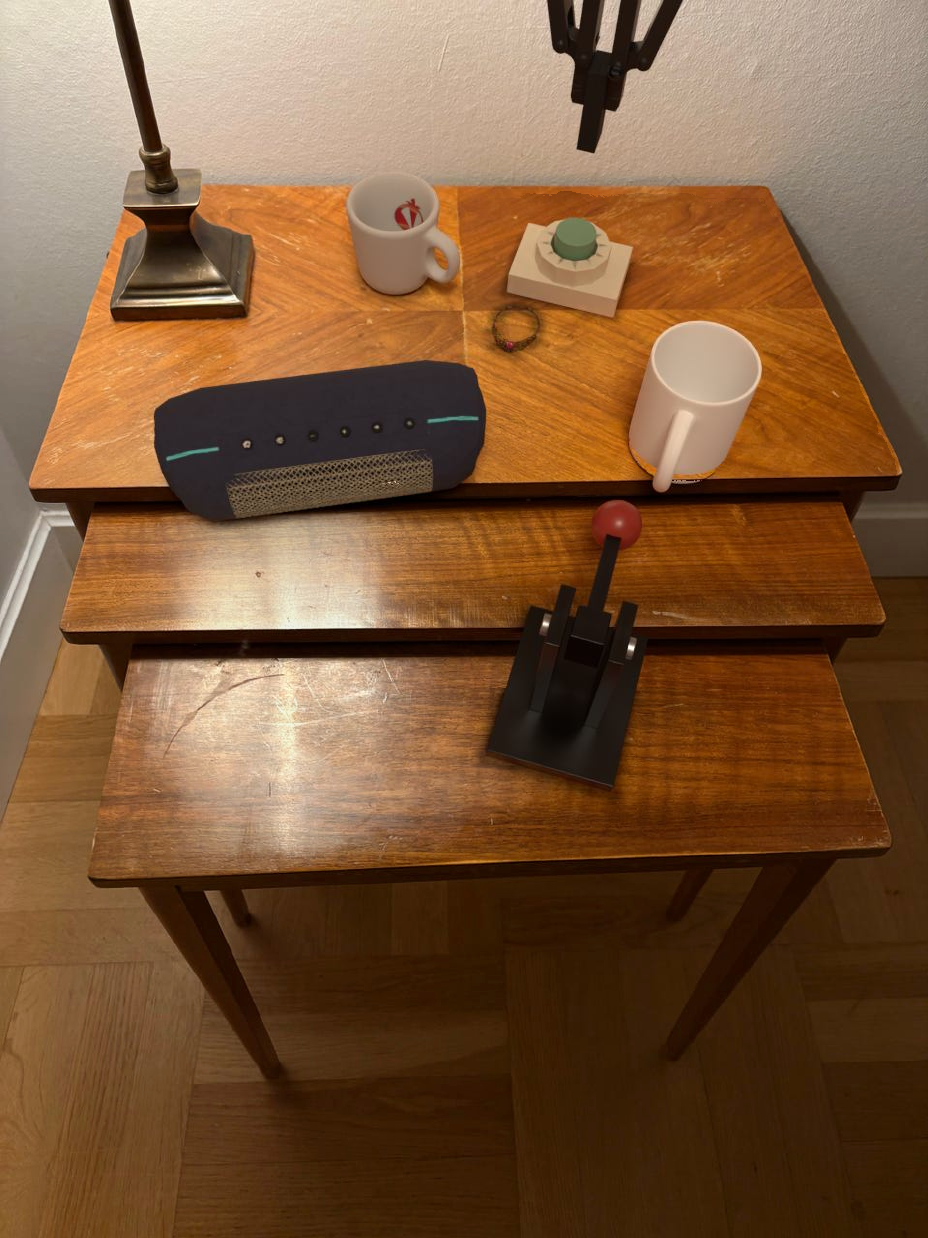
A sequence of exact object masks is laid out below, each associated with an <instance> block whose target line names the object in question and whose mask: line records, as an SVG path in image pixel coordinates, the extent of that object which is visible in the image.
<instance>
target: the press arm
mask: <svg viewBox="0 0 928 1238" xmlns="http://www.w3.org/2000/svg"><path fill="white" fill-rule="evenodd" d="M590 529H591V534H592V536H593V539H594V540H595V542H596V543H597V544H598V545H599V546H601V547H602V548H601V552H600V555H599V559H598V564H597V566H596V571H595V575H594V578H593V581H592V585H591V589H590V593H589V597H588V601H587V605H582V604H578V605H577V609H576V611H575V616H574V617H575V619H574V623H573V626H572V630H571V634H570V637H569V641H568V644H567V648H566V652H565V655H564V660H568V661H571V662H575V663H578V664H582V665H586V666H589V667H593V668H597V667H598V664H599V661H600V658H601V655H602V652H603V649H604V646H605V642H606V638H607V634H608V629H609V627H610V624H611V621H612V617H613V613H611V612H608V611H605V606H606V602H607V600H608V595H609V591H610V587H611V583H612V579H613V575H614V571H615V566H616V562H617V560H618V555H619V552H620V551H621V552H622V551H624V550H627V549H630V548H631V547H633V546H634V545H635V544H636V543H637V542H638V540H639V539H640V537H641V535H642V532H643V518H642V515H641V514H640V512H639V510H638V509H637V507H636V506H635V505H634V504H632V503H630V502H628V501H626V500H623V499H612V500H609V501H606V502H604V503H603V504H601V505H600V506H598V508H597V509H596V510H595V511H594V513H593V515H592V518H591V522H590Z"/></svg>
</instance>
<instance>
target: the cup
mask: <svg viewBox="0 0 928 1238" xmlns="http://www.w3.org/2000/svg"><path fill="white" fill-rule="evenodd" d="M440 206H441V205H440V199H439V196H438V194H437V192H436V190H435V189H434V187H432V185H431V184H430V183H429V182H427V181H426V180H424V179H422V178H421V177H419V176H416V175H414V174H411V173H408V172H404V171H403V172H402V171H382V172H377V173H374V174H370V175H368V176H366V177H364V178H363V179H360V180H359V181H358V182H357V183H356V184H354V185H353V187H352V188H351V189H350V191H349V192H348V195H347V197H346V200H345V210H346V211H345V212H346V216H347V221H348V226H349V229H350V234H351V240H352V244H353V248H354V254H355V258H356V263H357V265H358V266H357V267H358V270H359V272H360V275H361V277H362V279H363V280H364V282H365V283H366V284H367V285H368V286H369V287H370V288H372V289H373V290H375V291H377V292H378V293H382V294H385V295H390V296H391V295H393V296H398V295H399V296H401V295H407V294H410V293H412V292H414V291H416V290H418V289H419V288H420V287H422V286H423V285H424V284H425V283H426V281H427V280H428V278H429V279H431V280H433V281H435V282H437V283H440V284H448V283H451V281H453V280H454V279H455V278H456V276H457V275H458V273H459V271H460V266H461V254H460V250H459V247H458V246H457V244H456V243H455V241H454V240H453V239H452V238H451V237H450V236H448V235H447V234H446V233H445V232H443V231H442V230H439V229H438V225H439V217H440V210H441V209H440V208H441V207H440ZM436 249H437V250H438V251H440V252H441V253H442V254H443V255H444V258H445V260H446V263H447V269H444V268H442V267H441V266H440V265H439V263H438V261H437V259H436V255H435V251H436Z"/></svg>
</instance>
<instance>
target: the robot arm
mask: <svg viewBox="0 0 928 1238" xmlns="http://www.w3.org/2000/svg"><path fill="white" fill-rule="evenodd" d="M642 1H643V0H619V8H618V13H617V18H616V24H615V31H614V37H613V42H612V49H611V52H608V51H605V50H600V49H597V47H598V44H599V41H600V38H601V35H600V33H601V26H602V21H603V15H604V9H605V4H606V3H605V2H606V0H582V4H581V5H582V6H581V13H580V18H579V19H580V20H579V25H578V26H579V27H577V22H576V12H575V1H574V0H546V3H547V13H548V20H549V31H550V39H551V47H552V50H553V51H554V52H555V53H556V54H559V55H563V54H566V55H567V56H569V57H570V58H571V59H572V60H573V63H574V68H573V76H572V84H571V89H570V99H571V103H572V104H577V105H582V110H581V116H580V123H579V130H578V135H577V143H576V150H577V151H582V152H585V153H589V154H595V153H596V150H597V149H598V148H597V147H598V145H599V143H600V139H601V137H602V134H603V128H604V123H605V117H606V112H607V111H610V112H613V113H614V112H617V110H618V109H619V108H620V105H621V102H622V99H623V97H624V93H625V87H626V81H627V77H628V72H630V71H633V70H638V71H639V72H643V73H644V72H647V71H649V70H650V69H651V67H652V66H653V64H654V62H655V60H656V57H657V55H658V53H659V51H660V49H661V47H662V45H663V43H664V41H665V39H666V37H667V34H668V33H669V30H670V28H671V26H672V24H673V22H674V20H675V18H676V16H677V14H678V12H679V10H680V8H681V6H682V3H683V2H684V0H660V1H659V3H658V6H657V9H656V11H655V13H654V14H653V17H652V20H651V21H650V23H649V25H648V28H647V30H646V32H645V34H644V36H643V38H642V40H636V41H635V38H636V33H637V28H638V22H639V17H640V11H641V6H642Z"/></svg>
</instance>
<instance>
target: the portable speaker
mask: <svg viewBox="0 0 928 1238" xmlns="http://www.w3.org/2000/svg"><path fill="white" fill-rule="evenodd" d="M153 423H154V427H153V433H154V436H153V448H154V452H155V455H156V459H157V461H158V465H159V467H160V471H161V473H162V475H163V478H164V480H165V482H166V483H167V485H168V487H169V489H170V490H171V491H172V492H173V493H174V494H175V496H176V497H177V498H178V499H179V500H181V502H182V504H183V506H184V507H185V509H186V510H187V511H188V512H189V513H190V514H193V515H195V516H198V517H201V518H203V519H207V520H208V521H212V522H218V521H229V520H234V519H235V520H236V519H243V518H251V517H257V516H264V515H271V514H281V513H287V512H294V511H300V510H301V511H302V510H308V509H316V508H317V509H318V508H324V507H331V506H337V505H343V504H354V503H360V502H366V501H367V502H368V501H374V500H380V499H388V498H396V497H403V496H409V495H410V496H411V495H417V494H425V493H431V492H437V491H444V490H451V489H454V488H456V487H457V486H458V485H460V484H462V483H463V482H464V481H465V480H467V479H468V478H469V477H471V476H472V475H473V473H474V471H475V469H476V466H477V465H476V464H477V462H478V461H477V460H478V458H479V456H480V454H481V451H482V450H483V447H484V445H485V439H486V438H485V437H486V429H487V428H486V425H487V407H486V403H485V399H484V395H483V392H482V390H481V387H480V385H479V377H478V374H477V372H476V370H475V368H474V367H470V366H468V365H465V364H462V363H460V362H451V361H442V360H432V359H421V360H414V361H406V362H405V361H404V362H397V363H390V364H383V365H374V366H373V365H372V366H366V367H357V368H350V369H342V370H340V369H339V370H333V371H325V372H317V373H309V374H301V375H292V376H284V377H278V378H277V377H275V378H267V379H260V380H259V379H258V380H253V381H252V380H251V381H243V382H236V383H228V384H220V385H211V386H204V387H199V388H196V389H193V390H190V391H187V392H184V393H181V394H178V395H176V396H172V397H170V398H167V399H166V400H165V401H164V402H162V403H161V404H160V405H159V406H157V407H156V408H155V409H154V412H153ZM394 481H396V483H395V482H394ZM388 482H391V483H390V484H389V483H388ZM382 483H385V484H382ZM392 483H393V485H391V484H392ZM397 483H399V484H397ZM376 484H378V485H376ZM386 484H387V485H386ZM401 484H402V485H401ZM370 485H372V486H370ZM373 486H374V487H373ZM361 487H362V489H360V488H361ZM367 487H368V488H367Z"/></svg>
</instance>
